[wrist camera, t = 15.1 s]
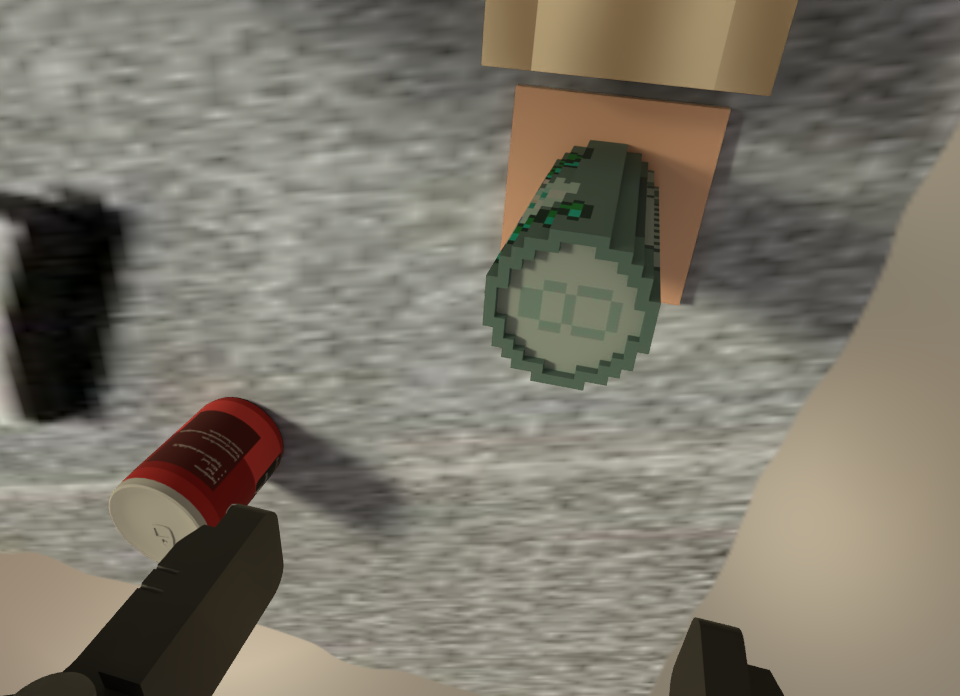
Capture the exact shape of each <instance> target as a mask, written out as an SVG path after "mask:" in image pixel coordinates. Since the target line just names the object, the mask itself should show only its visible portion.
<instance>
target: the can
mask: <svg viewBox="0 0 960 696" xmlns="http://www.w3.org/2000/svg"><path fill="white" fill-rule="evenodd" d="M627 148H628V144H623V143H614V142H606V141H597V140H590V141H589V143H588V145H587V147H581V146H574V147H573V148H572V150H571V152H570V153H567V152H566V153H565V154H564V156H563V158H562V159H557V160H556V162H555V164H554V165H553V167H552V169H551V170H550V172H549V173H548V174H547V176H546V177H545V179H544V181H543V182H542V184H541V186H540V187H539V189H538V191H537V192H536V194H535V196H534V197H533V199H532V201H531V202H530V204H529V206H528V207H527V209H526V210H525V212H524V214H523V215H522V217H521V219H520V220H519V222H518V224H517V225H516V227H515V229H514V230H513V232H512V234H511V235H510V237H509V239H508V240H507V242H506V244H505V245H504V247H503V248H502V250H501V252H500V253H499V255H498V257H497V258H496V260H495V262H494V263H493V265H492V267H491V268H490V270H489V272H488V273H487V275H486V287H485V300H484V313H483V325H485V326H490V327H493V335H492V346H496V347H501V348H502V353H501V357H505V358H510V359H511V368H515V369H520V370H526V371H531V379H530V381H536V382H541V383H546V384H552V385H557V386H562V387H567V388H573V389H578V390H583V388H584V383H585V382H590V383H595V384H601V385H606V386H607V381H608V377H614V378H620V374H621V369H623V370H628V371H633V368H634V363H635V359H636V355H637V352H639V353H644V354H649V351H650V346H651V342H652V338H653V334H654V330H655V325H656V321H657V317H658V313H659V309H660V305H661V283H660V222H659V187H656V186H654V171H651V170H648V162H641V161H642V154H640V153H632V152H627Z"/></svg>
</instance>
